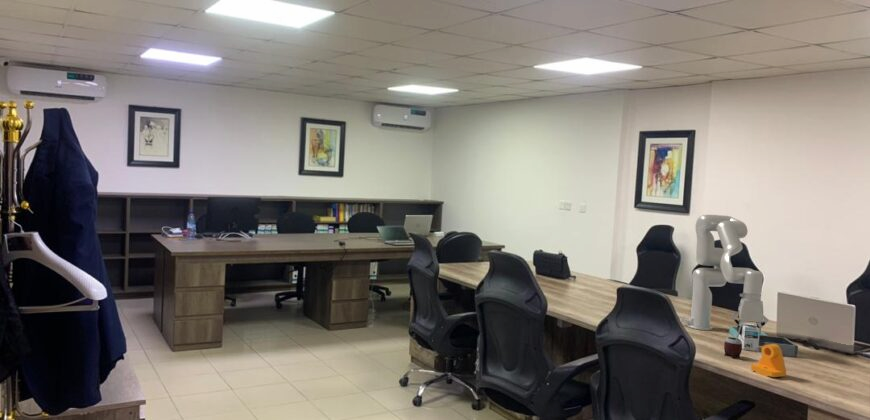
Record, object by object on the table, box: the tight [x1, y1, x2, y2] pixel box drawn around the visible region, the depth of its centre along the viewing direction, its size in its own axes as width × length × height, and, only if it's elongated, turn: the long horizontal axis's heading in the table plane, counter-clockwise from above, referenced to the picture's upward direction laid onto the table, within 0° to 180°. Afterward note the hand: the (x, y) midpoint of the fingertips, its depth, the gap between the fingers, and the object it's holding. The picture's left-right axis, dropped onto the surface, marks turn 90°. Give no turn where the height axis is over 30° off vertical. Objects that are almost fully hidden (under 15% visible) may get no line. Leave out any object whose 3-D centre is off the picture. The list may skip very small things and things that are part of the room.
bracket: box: [750, 344, 787, 378], centre depth 251 cm, size 11×7×12 cm, turn 25°
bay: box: [759, 334, 799, 358], centre depth 290 cm, size 14×16×5 cm
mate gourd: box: [723, 321, 745, 359], centre depth 275 cm, size 8×8×15 cm
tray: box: [728, 325, 769, 338], centre depth 311 cm, size 14×18×4 cm
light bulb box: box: [738, 322, 760, 352], centre depth 292 cm, size 11×7×11 cm, turn 169°
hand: (748, 334), depth 292 cm, fingers open, 7 cm apart
